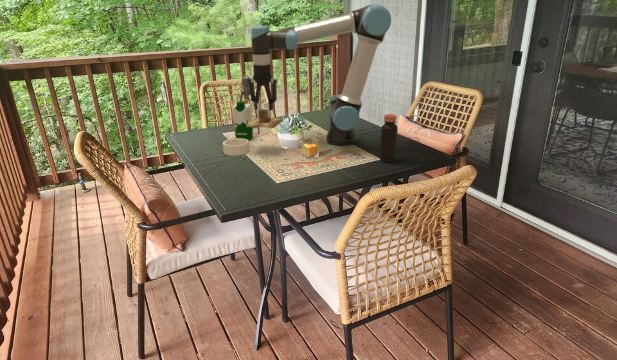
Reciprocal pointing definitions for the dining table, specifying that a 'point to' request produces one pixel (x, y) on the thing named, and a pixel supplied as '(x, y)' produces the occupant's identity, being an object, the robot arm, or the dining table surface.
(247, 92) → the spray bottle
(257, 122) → the lid
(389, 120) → the bottle
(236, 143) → the bowl
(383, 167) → the dining table surface
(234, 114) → the milk carton
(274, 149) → the mat
